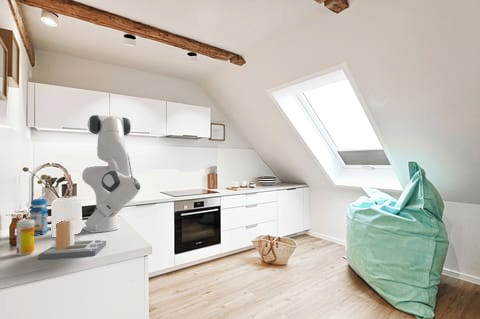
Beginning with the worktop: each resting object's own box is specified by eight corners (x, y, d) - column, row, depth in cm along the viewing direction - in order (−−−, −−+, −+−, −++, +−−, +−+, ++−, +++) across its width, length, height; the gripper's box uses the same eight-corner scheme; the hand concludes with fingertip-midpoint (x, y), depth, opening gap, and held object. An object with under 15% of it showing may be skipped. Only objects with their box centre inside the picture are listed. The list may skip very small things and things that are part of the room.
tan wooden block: (68, 247, 115) (68, 221, 115) (63, 250, 110) (63, 223, 111) (61, 248, 114) (61, 221, 115) (56, 251, 110) (56, 223, 110)
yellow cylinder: (37, 252, 116) (37, 219, 116) (23, 256, 110) (23, 222, 110) (27, 251, 117) (27, 218, 118) (12, 255, 112) (13, 221, 112)
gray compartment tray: (106, 244, 126) (106, 216, 126) (95, 255, 111) (95, 223, 111) (56, 248, 121) (56, 218, 122) (38, 259, 107) (38, 226, 107)
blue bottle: (50, 233, 147) (50, 199, 148) (32, 237, 140) (32, 201, 141) (44, 231, 152) (44, 198, 153) (26, 234, 145) (27, 199, 146)
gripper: (112, 198, 128) (90, 218, 126) (97, 205, 108) (72, 229, 106) (121, 206, 129) (100, 226, 127) (109, 215, 109) (83, 239, 107)
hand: (87, 228), depth 116 cm, fingers closed
